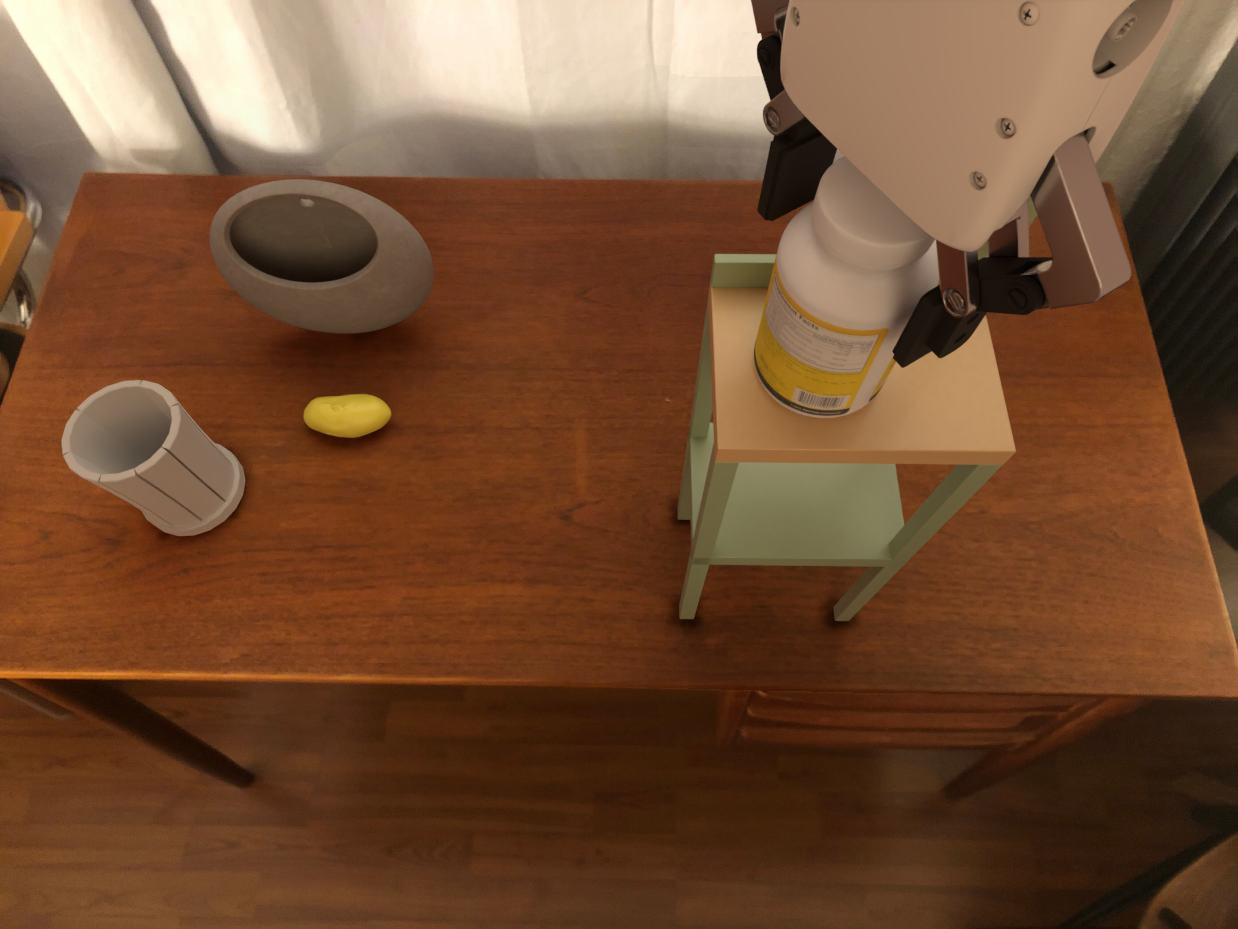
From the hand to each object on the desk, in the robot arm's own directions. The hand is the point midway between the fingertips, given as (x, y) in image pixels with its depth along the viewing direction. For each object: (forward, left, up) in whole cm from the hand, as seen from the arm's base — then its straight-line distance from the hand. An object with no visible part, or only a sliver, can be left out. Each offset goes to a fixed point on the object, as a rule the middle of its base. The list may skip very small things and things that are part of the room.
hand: (854, 270), depth 33 cm
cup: (+32, +37, -39) cm, 63 cm away
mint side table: (-1, -2, -39) cm, 39 cm away
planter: (+40, +17, -39) cm, 59 cm away
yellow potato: (+30, +22, -39) cm, 54 cm away
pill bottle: (0, 0, -8) cm, 8 cm away
